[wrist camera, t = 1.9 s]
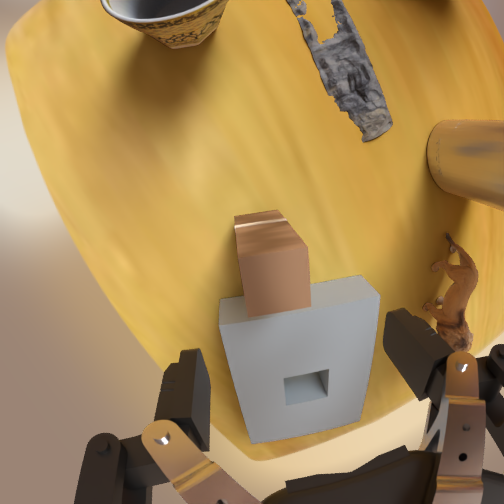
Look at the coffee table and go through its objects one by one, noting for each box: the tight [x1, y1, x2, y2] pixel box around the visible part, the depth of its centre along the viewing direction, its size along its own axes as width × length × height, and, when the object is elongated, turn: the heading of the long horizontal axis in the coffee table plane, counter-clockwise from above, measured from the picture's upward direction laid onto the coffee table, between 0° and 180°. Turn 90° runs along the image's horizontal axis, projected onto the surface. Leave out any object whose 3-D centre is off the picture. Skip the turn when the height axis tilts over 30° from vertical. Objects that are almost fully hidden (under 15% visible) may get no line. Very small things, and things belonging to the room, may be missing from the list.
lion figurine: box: [423, 233, 478, 352], centre depth 28 cm, size 15×5×9 cm, turn 9°
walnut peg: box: [234, 210, 311, 318], centre depth 22 cm, size 4×4×12 cm
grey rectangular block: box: [219, 275, 380, 444], centre depth 32 cm, size 16×22×5 cm
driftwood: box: [287, 0, 393, 142], centre depth 22 cm, size 21×7×2 cm, turn 19°
